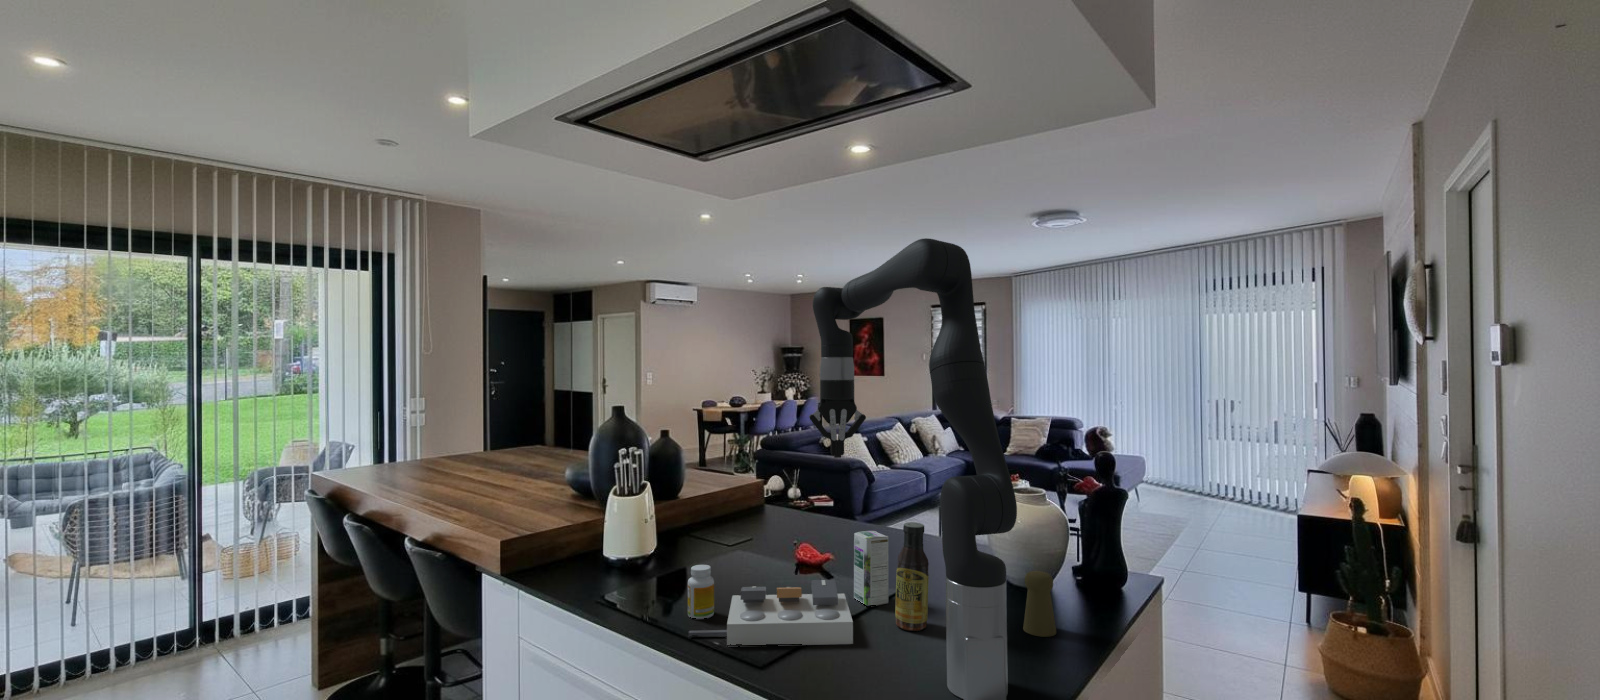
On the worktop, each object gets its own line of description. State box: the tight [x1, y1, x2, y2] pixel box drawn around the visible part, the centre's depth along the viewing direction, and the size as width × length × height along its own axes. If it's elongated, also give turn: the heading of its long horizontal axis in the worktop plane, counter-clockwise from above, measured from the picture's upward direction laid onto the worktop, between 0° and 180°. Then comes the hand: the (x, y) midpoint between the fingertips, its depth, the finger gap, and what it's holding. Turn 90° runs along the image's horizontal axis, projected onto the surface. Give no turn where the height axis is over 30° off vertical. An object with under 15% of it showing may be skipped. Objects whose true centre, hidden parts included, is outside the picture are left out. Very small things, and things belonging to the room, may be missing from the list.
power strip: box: [688, 593, 854, 646], centre depth 126 cm, size 15×30×4 cm, turn 92°
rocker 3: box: [810, 579, 838, 605], centre depth 129 cm, size 6×5×3 cm
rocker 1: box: [740, 585, 767, 603], centre depth 128 cm, size 6×5×3 cm
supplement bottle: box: [687, 564, 715, 620], centre depth 133 cm, size 5×5×10 cm
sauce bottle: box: [894, 521, 930, 632], centre depth 127 cm, size 6×6×20 cm
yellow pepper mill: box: [1022, 570, 1057, 638], centre depth 125 cm, size 6×6×11 cm
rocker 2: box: [776, 586, 803, 602], centre depth 128 cm, size 6×5×3 cm
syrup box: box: [853, 530, 889, 606], centre depth 141 cm, size 6×6×14 cm
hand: (837, 457), depth 142 cm, fingers closed
